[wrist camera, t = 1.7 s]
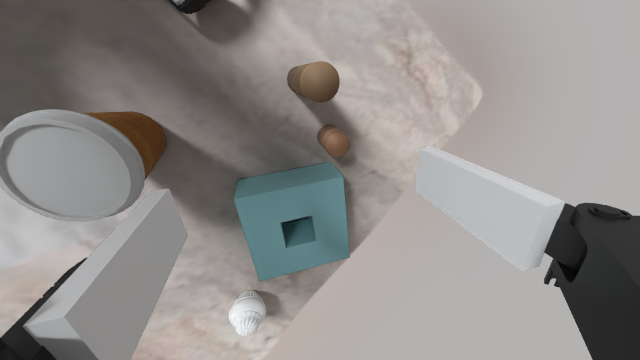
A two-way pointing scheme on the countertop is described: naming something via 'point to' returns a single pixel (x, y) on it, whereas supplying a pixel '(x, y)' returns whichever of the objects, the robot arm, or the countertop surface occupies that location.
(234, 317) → the white ribbed jar
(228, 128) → the countertop surface
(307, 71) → the tall pin
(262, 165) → the countertop surface
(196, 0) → the sunglasses
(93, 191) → the disposable coffee cup
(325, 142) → the short pin
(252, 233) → the hole block
